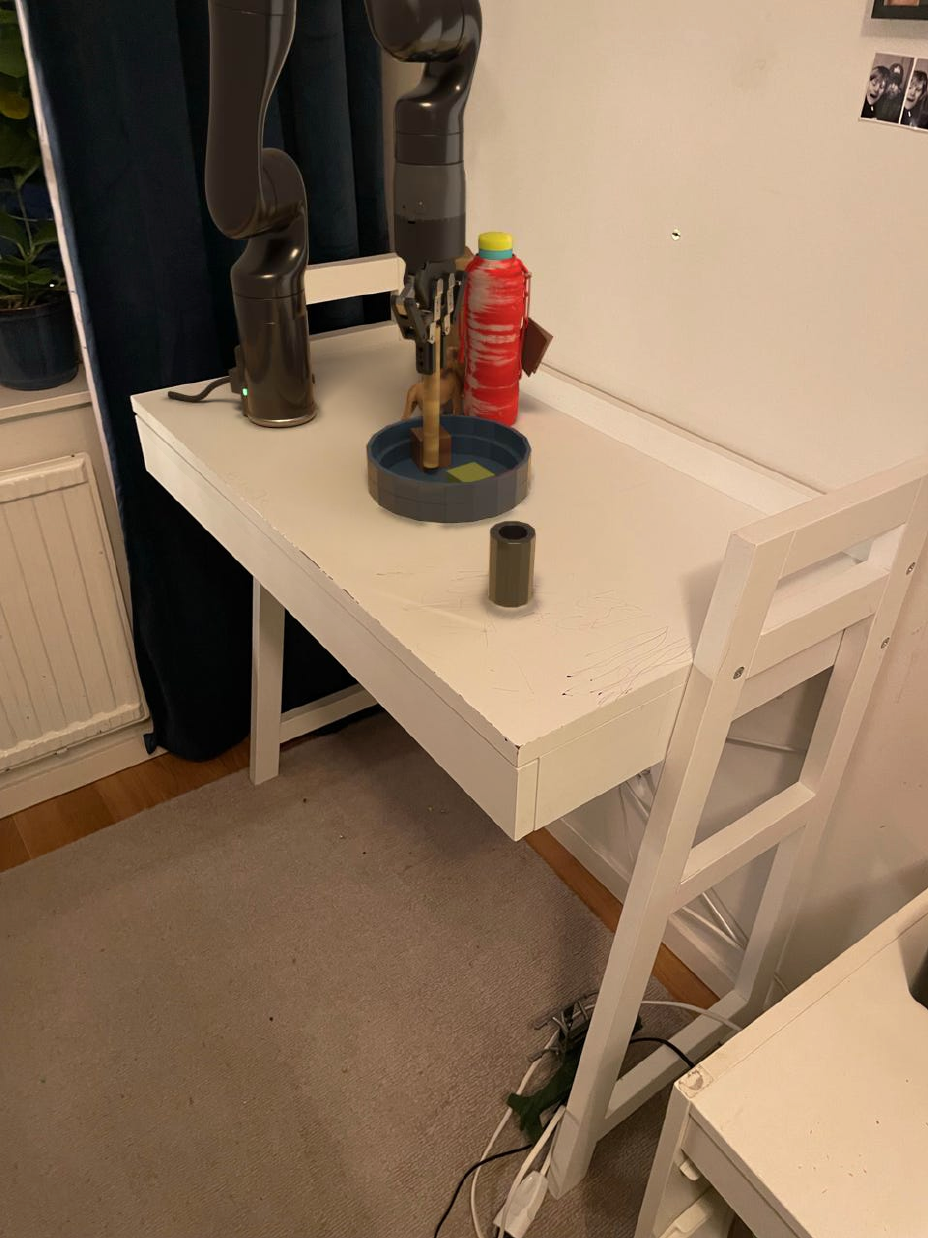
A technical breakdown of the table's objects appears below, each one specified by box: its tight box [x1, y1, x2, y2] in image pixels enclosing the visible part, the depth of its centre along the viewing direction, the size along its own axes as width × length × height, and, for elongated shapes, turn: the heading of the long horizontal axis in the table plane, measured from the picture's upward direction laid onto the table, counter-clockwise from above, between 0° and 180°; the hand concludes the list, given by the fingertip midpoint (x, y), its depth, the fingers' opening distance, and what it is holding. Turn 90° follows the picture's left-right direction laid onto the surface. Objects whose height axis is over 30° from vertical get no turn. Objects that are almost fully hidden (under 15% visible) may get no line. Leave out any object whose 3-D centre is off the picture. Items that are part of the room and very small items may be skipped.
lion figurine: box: [400, 347, 466, 421], centre depth 125 cm, size 15×5×9 cm, turn 153°
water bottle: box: [458, 231, 554, 427], centre depth 121 cm, size 12×8×25 cm, turn 101°
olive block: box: [446, 462, 495, 483], centre depth 107 cm, size 4×4×4 cm
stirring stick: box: [422, 324, 440, 468], centre depth 109 cm, size 2×2×17 cm
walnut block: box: [410, 424, 451, 471], centre depth 116 cm, size 4×4×4 cm
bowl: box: [365, 413, 533, 524], centre depth 111 cm, size 19×19×6 cm
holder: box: [487, 520, 537, 609], centre depth 91 cm, size 4×4×8 cm
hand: (431, 369), depth 107 cm, fingers closed on stirring stick, 2 cm apart
